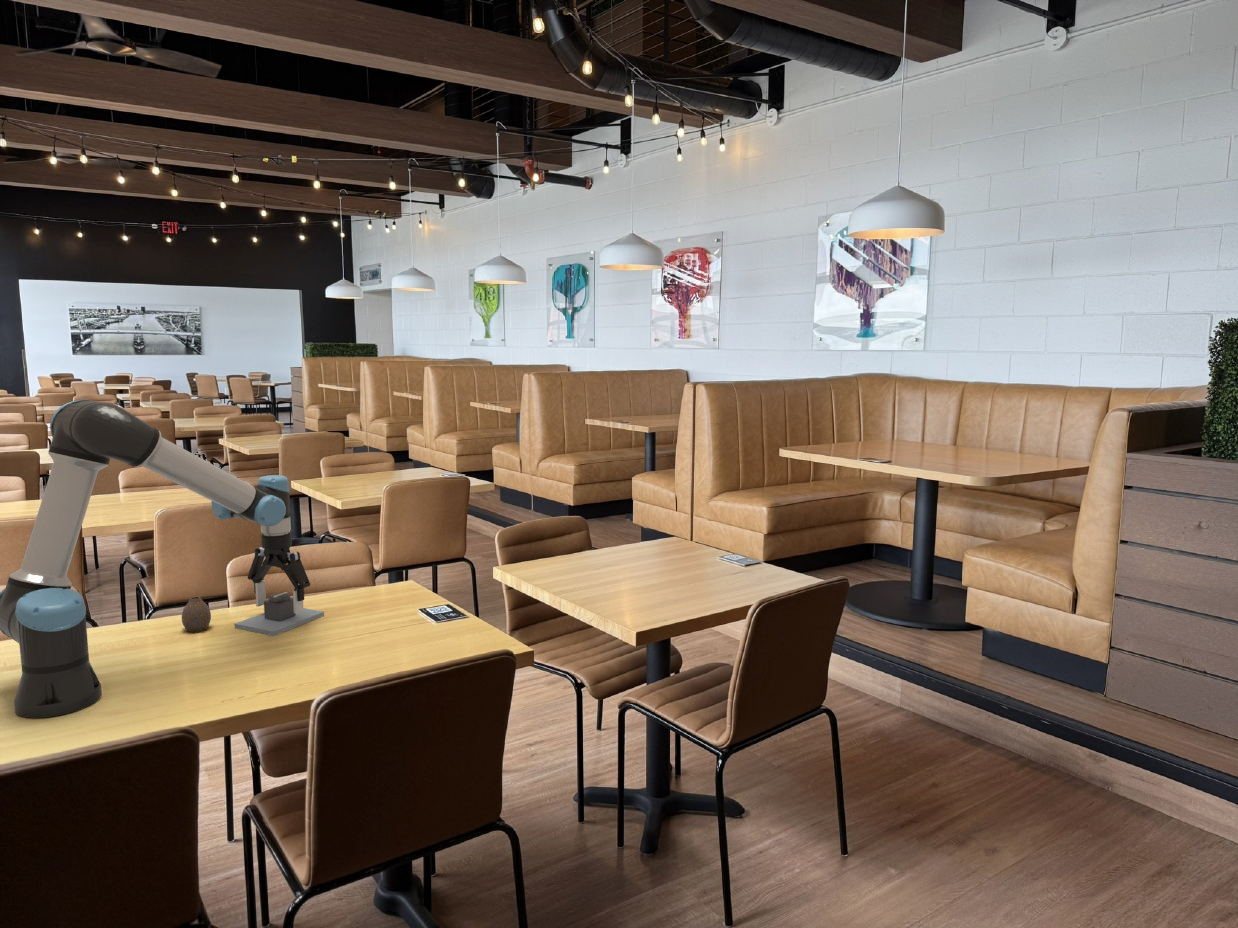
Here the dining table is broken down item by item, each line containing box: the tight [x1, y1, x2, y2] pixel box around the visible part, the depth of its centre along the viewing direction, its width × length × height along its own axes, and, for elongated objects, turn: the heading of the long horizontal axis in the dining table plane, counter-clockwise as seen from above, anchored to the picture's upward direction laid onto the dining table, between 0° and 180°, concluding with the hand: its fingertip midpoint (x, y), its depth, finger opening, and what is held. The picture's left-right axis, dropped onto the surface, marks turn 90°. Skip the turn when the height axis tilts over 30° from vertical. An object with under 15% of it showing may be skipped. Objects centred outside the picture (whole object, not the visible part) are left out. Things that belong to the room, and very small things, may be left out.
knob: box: [263, 591, 296, 621], centre depth 223 cm, size 6×6×6 cm
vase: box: [181, 596, 212, 633], centre depth 217 cm, size 7×7×9 cm
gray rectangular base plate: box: [234, 607, 325, 637], centre depth 224 cm, size 18×14×5 cm
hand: (279, 608), depth 223 cm, fingers open, 13 cm apart
